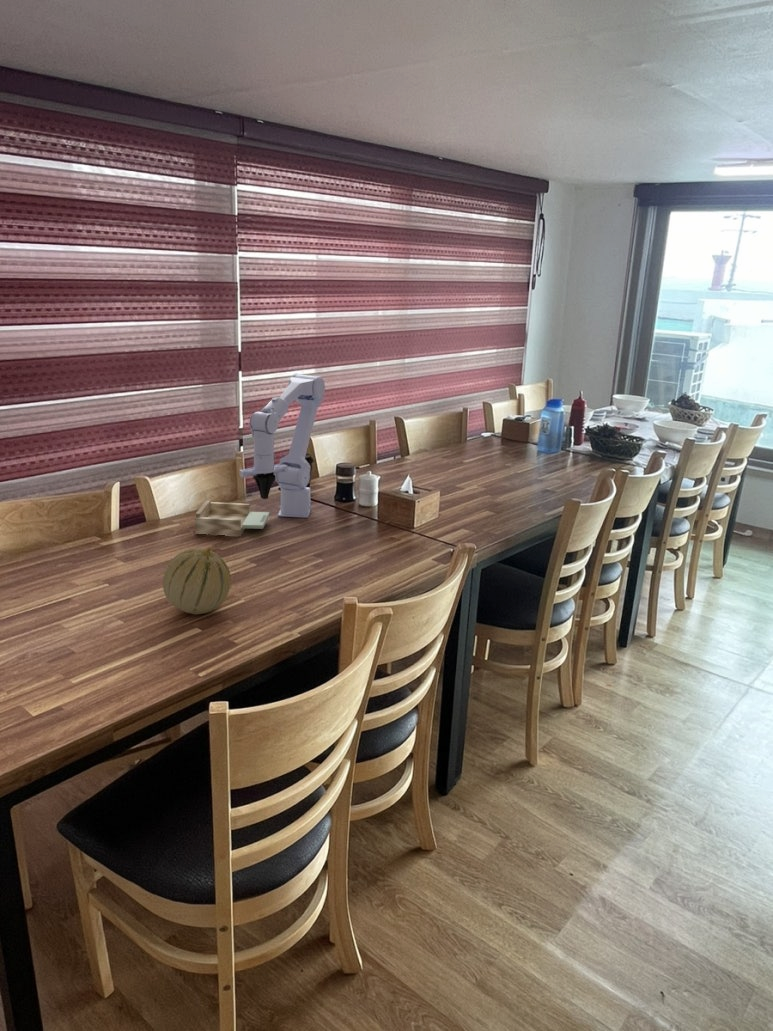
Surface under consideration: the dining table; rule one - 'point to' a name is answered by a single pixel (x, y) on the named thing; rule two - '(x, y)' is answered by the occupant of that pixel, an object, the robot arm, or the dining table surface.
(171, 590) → the cantaloupe
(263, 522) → the pale green flat slab
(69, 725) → the dining table surface
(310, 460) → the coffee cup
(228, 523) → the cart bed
